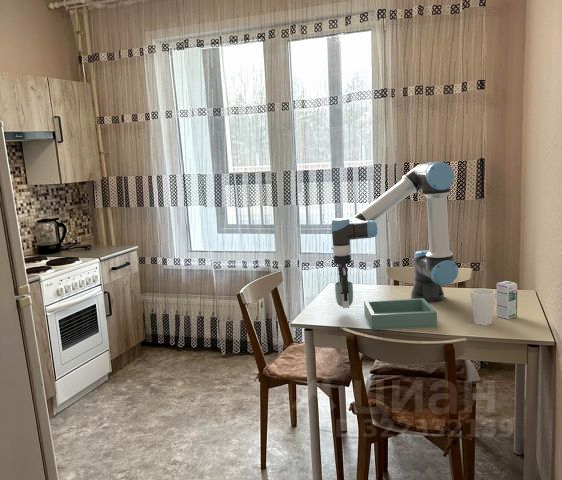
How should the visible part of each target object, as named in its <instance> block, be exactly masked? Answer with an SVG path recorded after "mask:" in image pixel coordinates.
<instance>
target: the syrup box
mask: <svg viewBox="0 0 562 480" xmlns="http://www.w3.org/2000/svg"><path fill="white" fill-rule="evenodd" d="M495 301H496V316H497V317H498V316H499V318H501V317H503V318H502V319H504V318H506V319H505V320H510V318H511V319H514V318H517V317H518V283H517V282H514V281H508V280H504V281H502V282H501V281H500V282H497V283H496V298H495ZM513 317H514V318H513Z"/></svg>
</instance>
